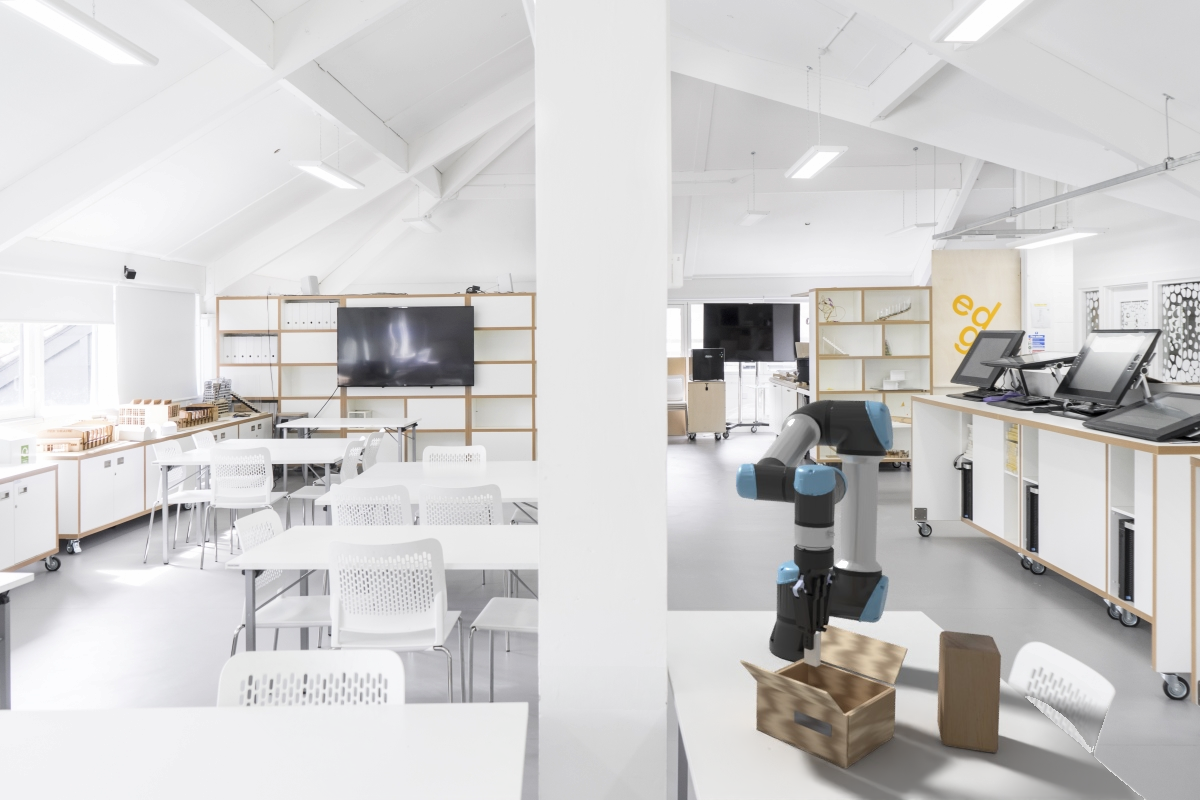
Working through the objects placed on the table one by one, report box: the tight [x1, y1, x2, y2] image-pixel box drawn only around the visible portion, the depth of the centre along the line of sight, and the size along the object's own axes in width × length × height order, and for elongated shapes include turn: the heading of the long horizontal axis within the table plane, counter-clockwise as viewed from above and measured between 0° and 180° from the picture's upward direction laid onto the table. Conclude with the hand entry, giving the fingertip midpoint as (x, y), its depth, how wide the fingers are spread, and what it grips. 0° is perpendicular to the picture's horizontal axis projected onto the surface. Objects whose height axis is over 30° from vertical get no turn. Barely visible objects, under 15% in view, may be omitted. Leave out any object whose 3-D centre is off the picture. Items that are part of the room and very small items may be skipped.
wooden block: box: [936, 630, 1002, 754], centre depth 152 cm, size 10×10×20 cm
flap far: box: [821, 624, 908, 686], centre depth 162 cm, size 19×1×8 cm
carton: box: [755, 658, 897, 770], centre depth 154 cm, size 21×18×10 cm
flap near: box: [739, 659, 844, 715], centre depth 146 cm, size 19×1×8 cm
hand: (812, 663), depth 151 cm, fingers closed
